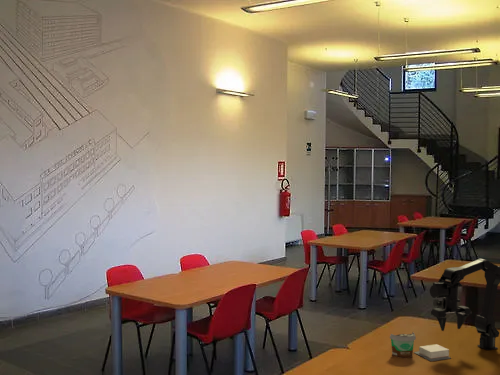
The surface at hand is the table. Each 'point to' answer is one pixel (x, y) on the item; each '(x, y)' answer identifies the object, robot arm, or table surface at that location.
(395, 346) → the food container
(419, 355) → the rubber mat
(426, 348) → the glazed tile
